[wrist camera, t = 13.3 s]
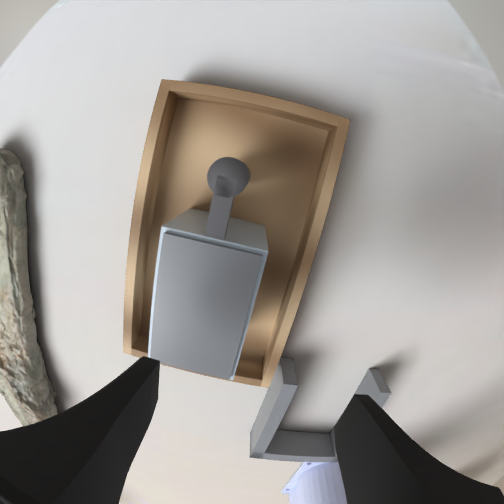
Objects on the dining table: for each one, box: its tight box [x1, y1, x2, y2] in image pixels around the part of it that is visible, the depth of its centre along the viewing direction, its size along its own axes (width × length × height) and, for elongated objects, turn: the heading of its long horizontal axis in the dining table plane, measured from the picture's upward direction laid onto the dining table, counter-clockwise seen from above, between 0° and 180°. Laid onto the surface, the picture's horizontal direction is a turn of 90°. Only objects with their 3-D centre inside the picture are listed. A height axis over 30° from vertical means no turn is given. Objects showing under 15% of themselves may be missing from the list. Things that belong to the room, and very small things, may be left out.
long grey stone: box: [0, 148, 58, 426], centre depth 19 cm, size 35×5×10 cm
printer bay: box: [250, 357, 391, 462], centre depth 20 cm, size 10×8×3 cm
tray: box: [123, 79, 350, 388], centre depth 17 cm, size 17×10×2 cm, turn 167°
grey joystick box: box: [148, 157, 268, 380], centre depth 15 cm, size 10×4×6 cm, turn 167°
